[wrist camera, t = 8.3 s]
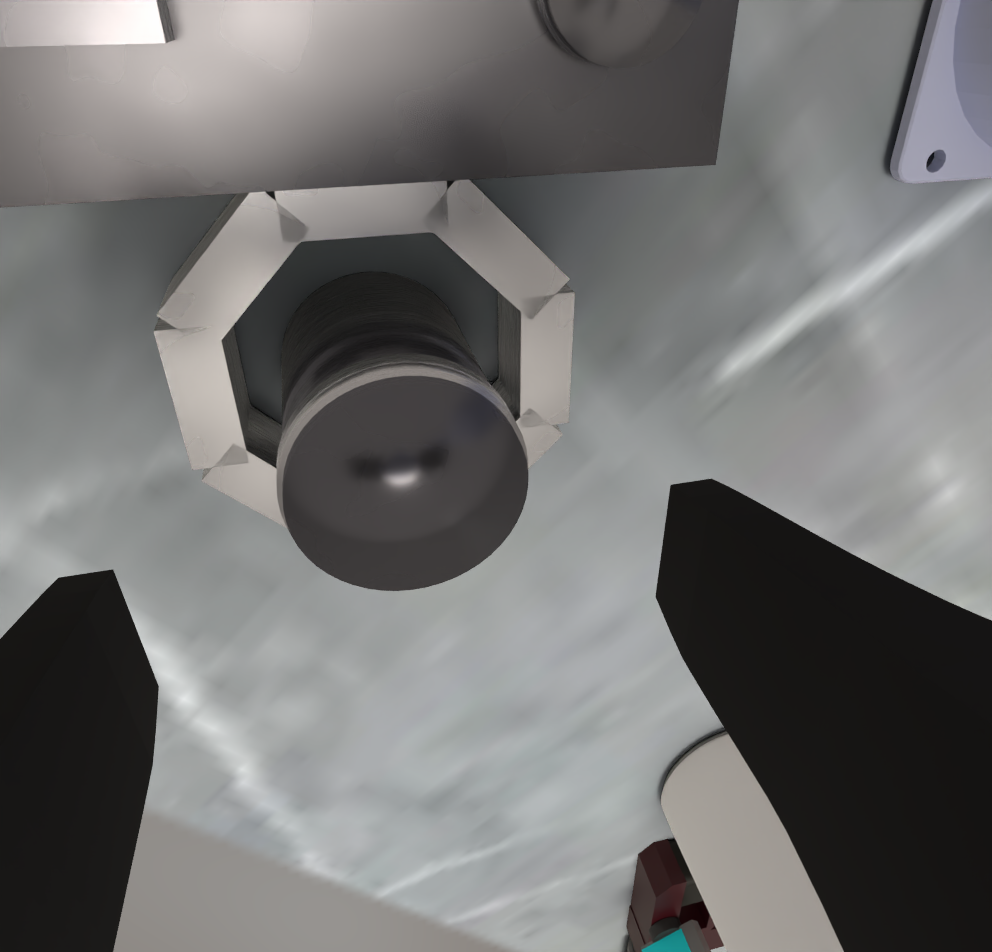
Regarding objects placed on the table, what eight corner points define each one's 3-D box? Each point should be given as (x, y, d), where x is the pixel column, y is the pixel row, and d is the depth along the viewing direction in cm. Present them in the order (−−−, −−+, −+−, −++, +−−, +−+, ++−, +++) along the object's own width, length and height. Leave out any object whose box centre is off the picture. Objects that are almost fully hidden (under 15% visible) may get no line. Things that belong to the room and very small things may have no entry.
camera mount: (674, -222, 13) (819, -306, 10) (613, 465, 22) (680, 562, 18) (-134, -260, 11) (-347, -390, 7) (137, 531, 19) (102, 658, 15)
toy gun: (608, 961, 40) (643, 1067, 36) (625, 833, 33) (670, 946, 29) (771, 915, 41) (822, 1012, 38) (818, 785, 35) (885, 886, 31)
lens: (488, 292, 18) (568, 403, 13) (438, 457, 20) (490, 606, 15) (294, 246, 16) (302, 354, 11) (262, 431, 18) (257, 589, 14)
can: (813, 707, 31) (1059, 1041, 21) (776, 802, 34) (972, 1126, 24) (669, 734, 29) (860, 1103, 19) (645, 829, 33) (798, 1185, 23)
